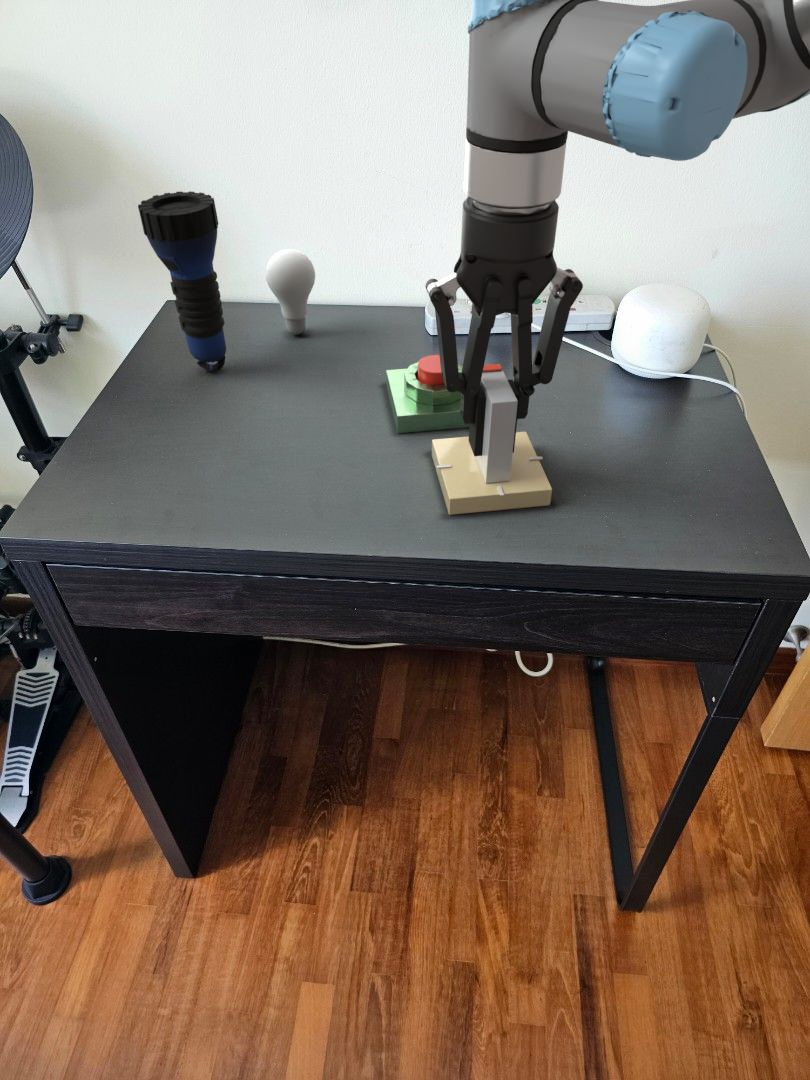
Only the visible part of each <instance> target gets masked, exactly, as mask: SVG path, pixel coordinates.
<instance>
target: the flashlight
mask: <svg viewBox="0 0 810 1080" xmlns="http://www.w3.org/2000/svg"><path fill="white" fill-rule="evenodd" d="M137 208H138V212H139V216H140V222H141V225H142V231H143V234H144V235H145V236H146V238H147V240H148V243H149V245H150V246H151V248H152V250H153V251H154V253H155V255H156V256H157V258H158V259H159V260H160V261H161V263H162V264H163V265H164V266H165V267H166V269H167V270H168V271H169V273H170V274H169V275H170V278H171V281H170V282H169V283H170V286H171V291H172V292H171V293H172V294H173V295H174V296H175V299H174V304H175V309H176V312H177V313H178V314H179V316H178V321H179V326H180V328H181V330H182V331H183V332H184V336H185V340H186V343H187V347H188V351H189V353H190V355H191V356H192V357H193V358H194V359H195V360H197V362H196V364H197V365H198V366H199V367H200V368H201V369H203V370H205V371H208V372H218V371H220V370H222V369H223V367H224V366H225V363H226V353H227V345H226V344H227V343H226V338H225V333H224V331H225V330H224V326H225V318H224V317H223V315H224V311H223V303H222V300H221V292H220V290H219V289H220V285H219V282H218V280H217V279H218V273H217V272H216V271H215V270H214V264H213V263H214V258H215V251H216V247H217V240H218V228H219V219H218V214H217V208H216V202H215V197H213V196H211V194H205V193H204V192H195V191H190V190H189V191H186V192H185V191H176V192H171V193H170V192H165V193H163V194H161V195H158V194H155V195H152V197H150V198H148V199H146V200H144V199H143V200H141V201H140V204H138V205H137ZM210 363H214V364H210Z"/></svg>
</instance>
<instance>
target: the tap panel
mask: <svg viewBox="0 0 810 1080" xmlns="http://www.w3.org/2000/svg"><path fill="white" fill-rule="evenodd" d="M468 440H469V435H468V436H461V437H460V436H456V437H446V438H435V439H434V438H433V439H431V457H432V460H433V461H432V462H433V464H434V468H435V472H436V475H437V478H438V481H439V485H440V489H441V492H442V495H443V499H444V503H445V506H446V510H447V513H448V515H449V516H452V515H462V514H472V513H473V514H474V513H483V512H484V513H485V512H493V511H494V512H495V511H504V510H516V509H526V508H535V507H546V506H551V501H552V495H553V488H552V486H551V483H550V481H549V479H548V477H547V475H546V472H545V470H544V468H543V466H542V463H541V462H540V460H542V461H543V459H544V458H543V456H542V455H540V456H538V455H537V453H536V450H535V449H534V446H533V444H532V442H531V439H530V438H529V435H528V433H527V431H516V437H515V446H514V453H512V462H511V472H510V481H504V482H494V483H485V480H484V478H483V475H482V472H481V470H480V467H479V464H478V462H477V459H476V456H474V454H473V451H472V449H471V446H470V443H469V441H468Z"/></svg>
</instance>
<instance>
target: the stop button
mask: <svg viewBox="0 0 810 1080" xmlns="http://www.w3.org/2000/svg"><path fill="white" fill-rule="evenodd" d="M417 362H418V380H419V381H420V382H422V383H423V384H428V385H433V386H435V385H445V383H444V380H443V377H442V374H441V364H440V354H432V355H431V354H430V355H425V356H423V357H422V358H420V359H419V360H418V361H417Z"/></svg>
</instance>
